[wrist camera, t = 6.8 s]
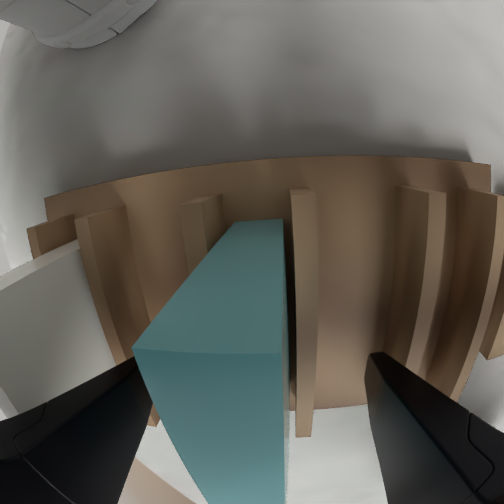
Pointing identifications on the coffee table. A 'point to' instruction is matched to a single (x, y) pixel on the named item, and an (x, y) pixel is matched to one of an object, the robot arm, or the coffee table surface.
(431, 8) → the coffee table surface
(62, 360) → the cream plate
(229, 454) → the teal rectangular prism
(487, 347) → the wooden slats
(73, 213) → the rack
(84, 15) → the mug
